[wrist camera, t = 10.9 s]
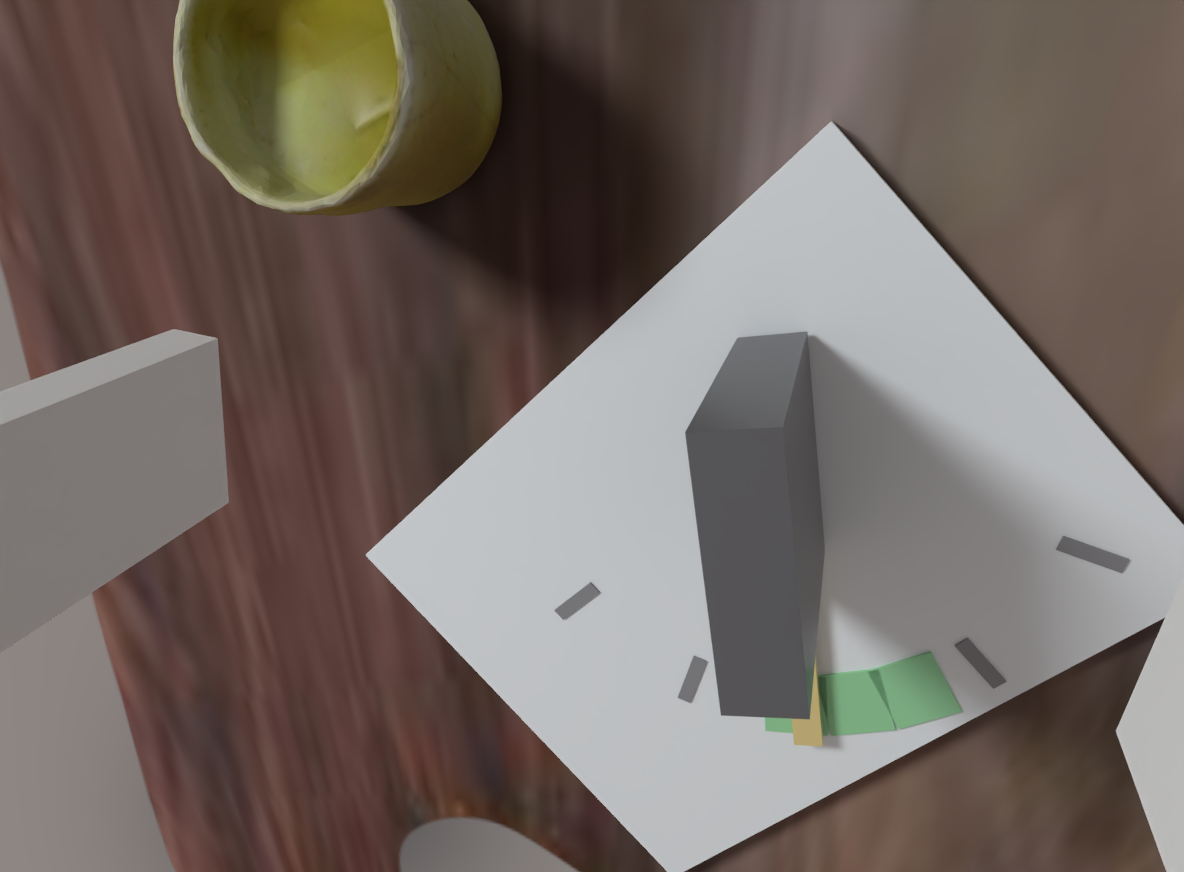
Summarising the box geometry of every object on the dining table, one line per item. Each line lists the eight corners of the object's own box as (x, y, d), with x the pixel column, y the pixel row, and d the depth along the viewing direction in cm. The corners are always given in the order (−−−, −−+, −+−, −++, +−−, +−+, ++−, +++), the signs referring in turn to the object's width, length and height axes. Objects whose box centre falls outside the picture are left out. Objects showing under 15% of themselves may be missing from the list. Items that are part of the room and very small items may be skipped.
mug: (547, 236, 34) (341, 209, 26) (362, 231, 40) (145, 206, 31) (566, -112, 32) (349, -262, 24) (369, -67, 38) (137, -176, 29)
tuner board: (832, 120, 32) (831, 121, 31) (1222, 569, 33) (1233, 583, 32) (375, 545, 44) (363, 556, 43) (676, 862, 45) (672, 879, 44)
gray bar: (737, 337, 34) (685, 432, 24) (807, 331, 33) (782, 427, 23) (778, 735, 39) (750, 946, 29) (840, 738, 39) (831, 956, 29)
